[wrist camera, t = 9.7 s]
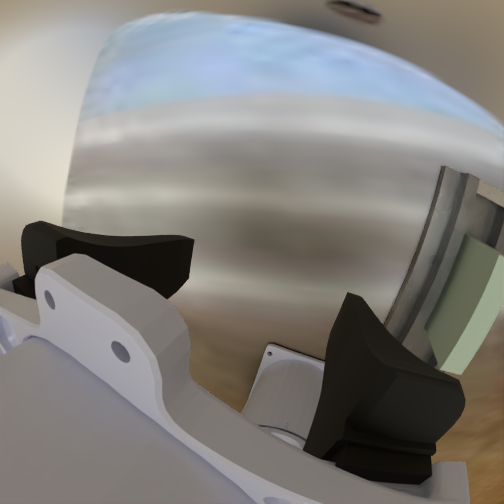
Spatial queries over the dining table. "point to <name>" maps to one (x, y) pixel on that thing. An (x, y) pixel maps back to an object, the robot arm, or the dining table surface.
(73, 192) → the dining table surface
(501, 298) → the door panel
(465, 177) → the door track
